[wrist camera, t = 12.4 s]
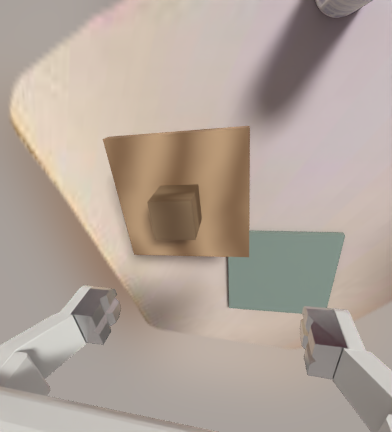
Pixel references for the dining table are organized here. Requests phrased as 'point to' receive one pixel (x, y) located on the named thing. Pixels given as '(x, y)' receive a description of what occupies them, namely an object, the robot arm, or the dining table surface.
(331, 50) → the dining table surface
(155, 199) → the cover
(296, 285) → the mat
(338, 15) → the energy drink
